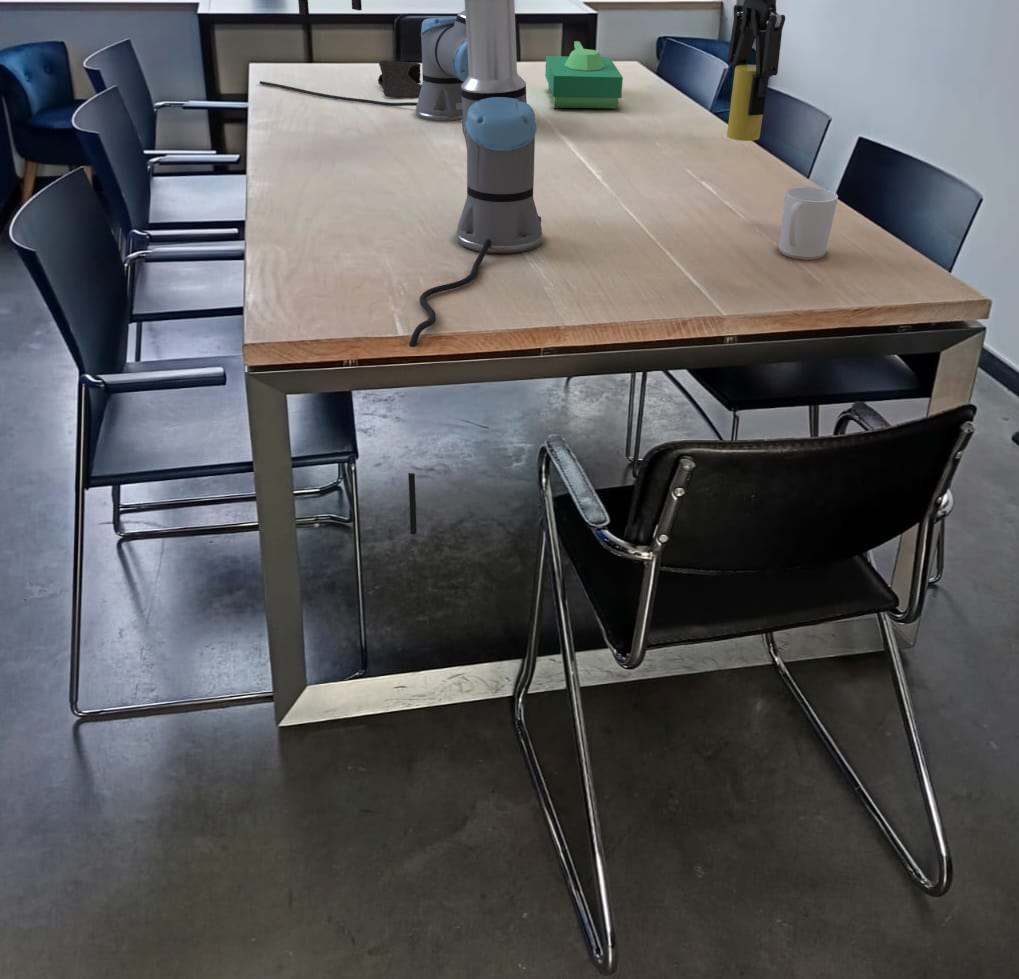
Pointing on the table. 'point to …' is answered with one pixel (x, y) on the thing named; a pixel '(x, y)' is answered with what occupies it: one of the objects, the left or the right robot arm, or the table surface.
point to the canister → (743, 107)
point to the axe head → (400, 79)
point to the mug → (806, 222)
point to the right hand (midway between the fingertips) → (746, 110)
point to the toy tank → (583, 80)
